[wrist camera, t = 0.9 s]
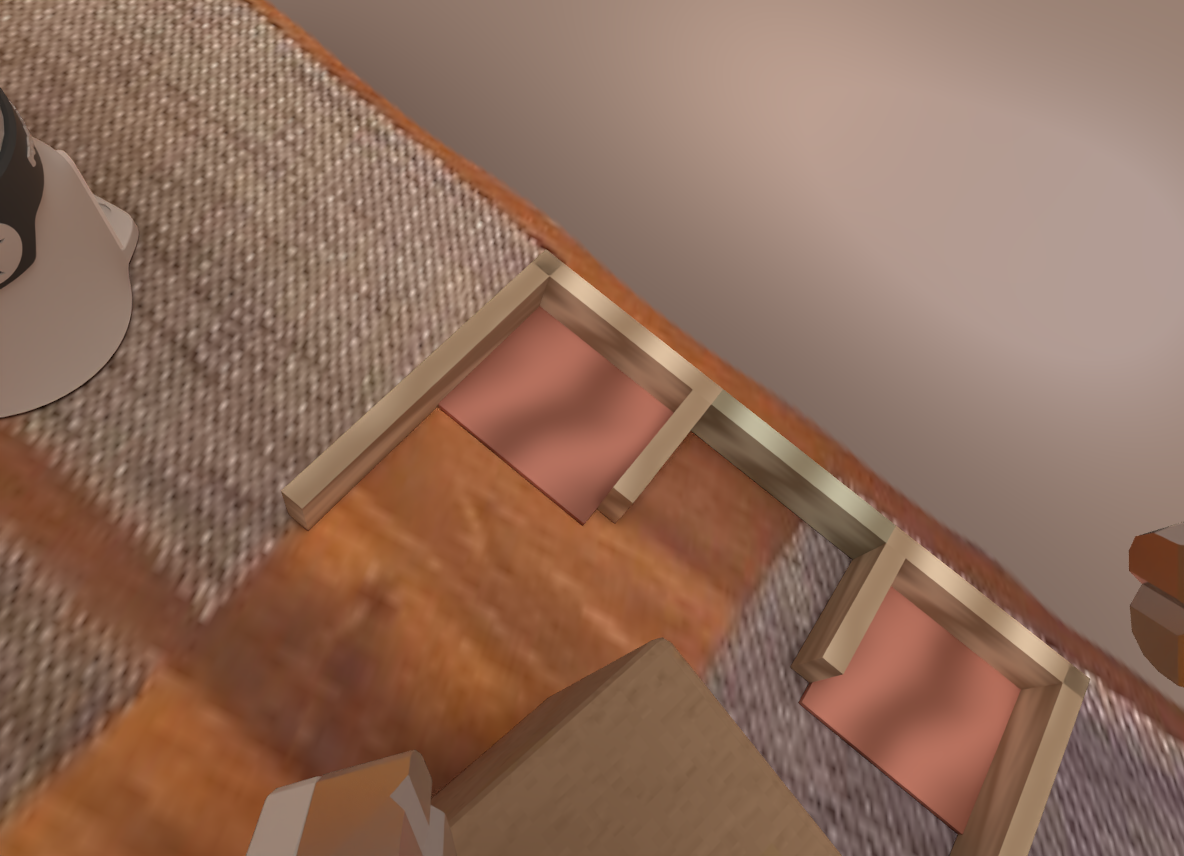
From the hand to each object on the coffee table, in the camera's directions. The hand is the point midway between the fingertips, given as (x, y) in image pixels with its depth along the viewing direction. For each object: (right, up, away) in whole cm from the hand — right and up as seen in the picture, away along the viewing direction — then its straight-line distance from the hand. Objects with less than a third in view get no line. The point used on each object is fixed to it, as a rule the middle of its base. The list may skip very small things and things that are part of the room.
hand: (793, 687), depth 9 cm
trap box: (+4, -8, +40) cm, 41 cm away
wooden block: (-5, -19, +33) cm, 38 cm away
